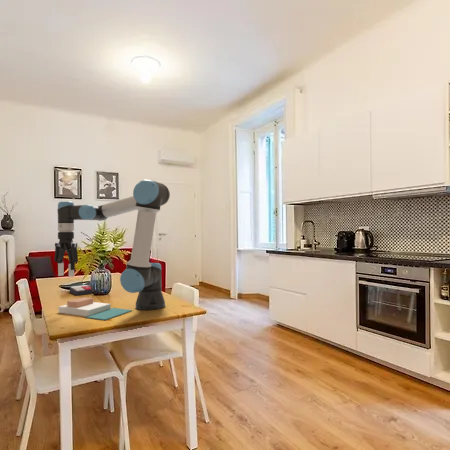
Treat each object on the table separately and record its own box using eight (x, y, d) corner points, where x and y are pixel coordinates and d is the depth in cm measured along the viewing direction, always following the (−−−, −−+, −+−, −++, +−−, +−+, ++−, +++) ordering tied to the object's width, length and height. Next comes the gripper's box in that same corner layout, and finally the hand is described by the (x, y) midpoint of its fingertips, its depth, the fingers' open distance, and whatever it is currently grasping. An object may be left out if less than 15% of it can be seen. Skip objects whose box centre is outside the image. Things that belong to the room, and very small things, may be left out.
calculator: (76, 290, 202) (69, 286, 214) (76, 297, 202) (69, 292, 214) (94, 288, 209) (87, 284, 221) (94, 294, 210) (87, 290, 221)
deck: (81, 306, 174) (81, 300, 174) (110, 309, 166) (110, 303, 166) (58, 312, 161) (58, 306, 161) (88, 316, 153) (88, 310, 153)
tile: (83, 302, 171) (83, 297, 171) (93, 303, 168) (93, 298, 168) (67, 306, 161) (67, 301, 161) (77, 307, 159) (77, 302, 159)
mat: (113, 308, 167) (113, 307, 167) (132, 311, 163) (132, 310, 163) (85, 317, 151) (85, 316, 151) (105, 320, 146) (105, 319, 146)
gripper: (46, 231, 170) (46, 276, 169) (73, 231, 162) (74, 278, 161) (58, 231, 176) (58, 274, 176) (85, 231, 168) (86, 275, 168)
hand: (66, 275), depth 169 cm, fingers open, 7 cm apart
